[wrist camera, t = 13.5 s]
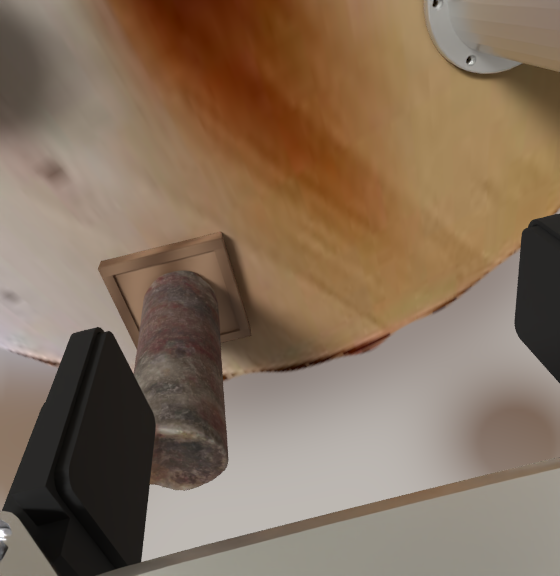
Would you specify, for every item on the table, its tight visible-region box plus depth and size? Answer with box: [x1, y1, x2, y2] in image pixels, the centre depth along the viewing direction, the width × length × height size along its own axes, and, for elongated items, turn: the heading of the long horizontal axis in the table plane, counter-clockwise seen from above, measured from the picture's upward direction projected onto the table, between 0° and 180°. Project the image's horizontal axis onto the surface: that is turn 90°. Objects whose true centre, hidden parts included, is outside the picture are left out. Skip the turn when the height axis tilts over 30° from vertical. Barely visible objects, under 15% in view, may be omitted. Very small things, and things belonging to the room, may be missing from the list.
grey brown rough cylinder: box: [134, 271, 228, 491], centre depth 41 cm, size 8×7×20 cm
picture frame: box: [98, 232, 251, 349], centre depth 49 cm, size 12×12×2 cm
